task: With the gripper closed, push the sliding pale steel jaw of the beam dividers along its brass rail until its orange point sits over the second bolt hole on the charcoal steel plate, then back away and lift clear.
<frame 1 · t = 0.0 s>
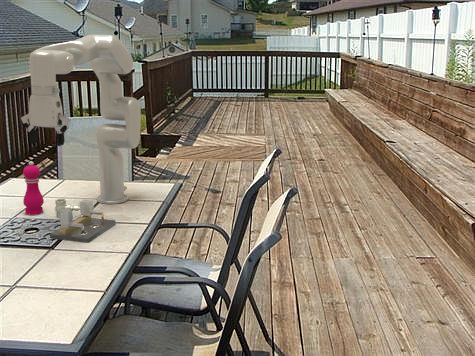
hand: (47, 144, 188), 31 cm above the table, tool pointing down, fingers open, 9 cm apart
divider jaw: (92, 210, 206), point 5 cm above the table, slide at -6.0 cm
bolt plate: (84, 231, 200), on the table
magenta bowling pin: (34, 213, 219), on the table
valve: (72, 217, 215), on the table
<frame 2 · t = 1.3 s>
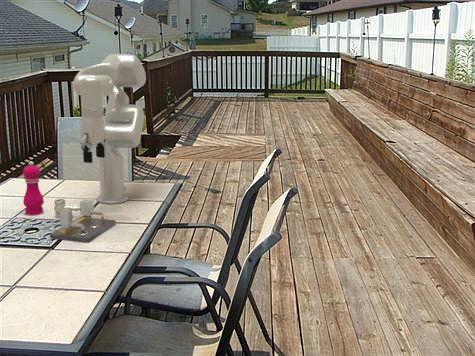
hand: (94, 159, 209), 22 cm above the table, tool pointing down, fingers open, 8 cm apart
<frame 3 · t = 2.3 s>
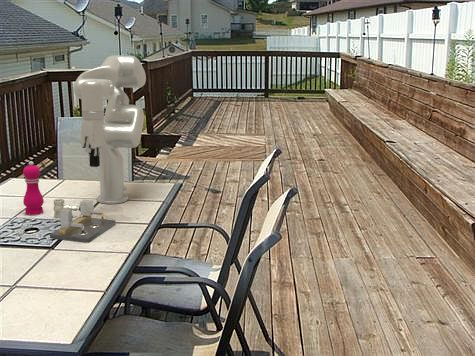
hand: (94, 166, 210), 20 cm above the table, tool pointing down, fingers closed
nothing on the table moved.
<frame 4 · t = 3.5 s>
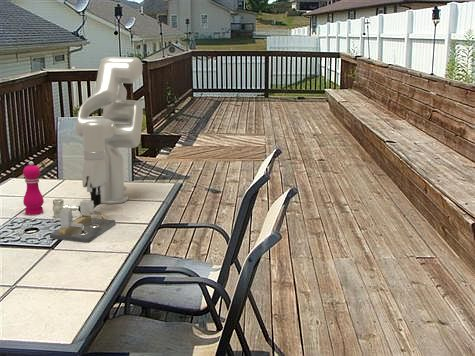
hand: (96, 204, 213), 5 cm above the table, tool pointing down, fingers closed
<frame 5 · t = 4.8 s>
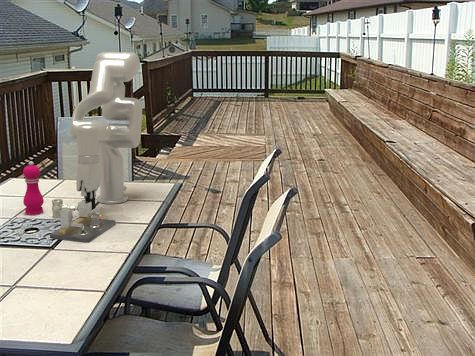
hand: (90, 208, 209), 5 cm above the table, tool pointing down, fingers closed
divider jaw: (90, 211, 205), point 5 cm above the table, slide at -4.5 cm, touching gripper
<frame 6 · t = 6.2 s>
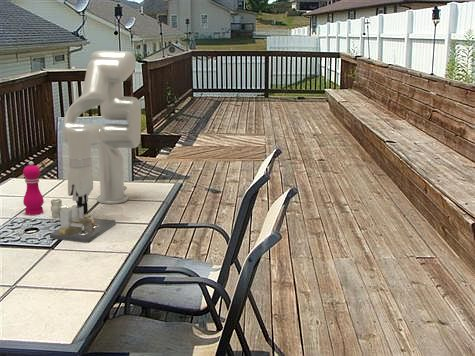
hand: (82, 213, 204), 5 cm above the table, tool pointing down, fingers closed
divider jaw: (82, 215, 200), point 5 cm above the table, slide at 1.2 cm, touching gripper
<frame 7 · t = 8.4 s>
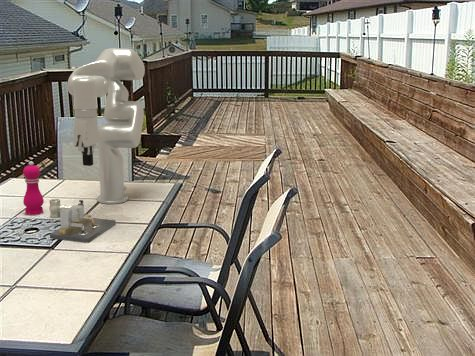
hand: (88, 165, 205), 21 cm above the table, tool pointing down, fingers closed
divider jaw: (83, 215, 200), point 5 cm above the table, slide at 1.0 cm
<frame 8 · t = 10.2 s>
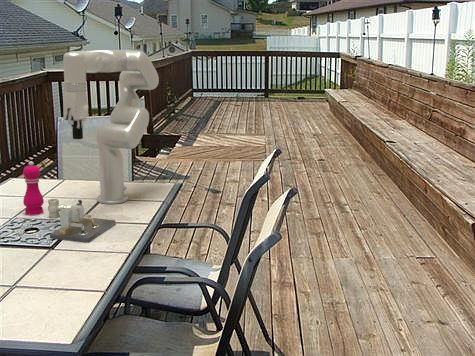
hand: (77, 138, 210), 29 cm above the table, tool pointing down, fingers closed
at the end: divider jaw slide at 1.0 cm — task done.
